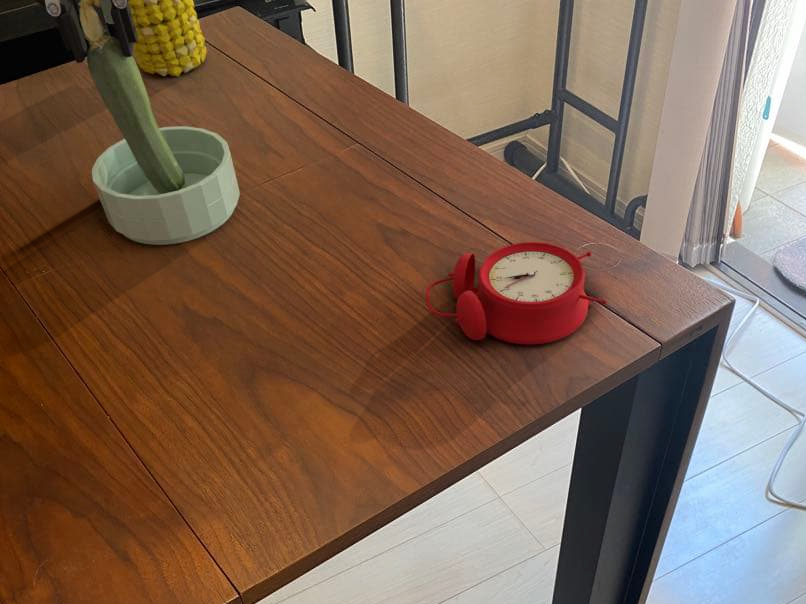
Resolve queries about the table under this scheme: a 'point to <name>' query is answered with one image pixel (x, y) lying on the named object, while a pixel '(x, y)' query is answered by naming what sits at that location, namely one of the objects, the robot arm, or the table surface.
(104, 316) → the table surface
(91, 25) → the vegetable
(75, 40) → the robot arm
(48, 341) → the table surface
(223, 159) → the bowl
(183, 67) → the food
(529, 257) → the alarm clock
